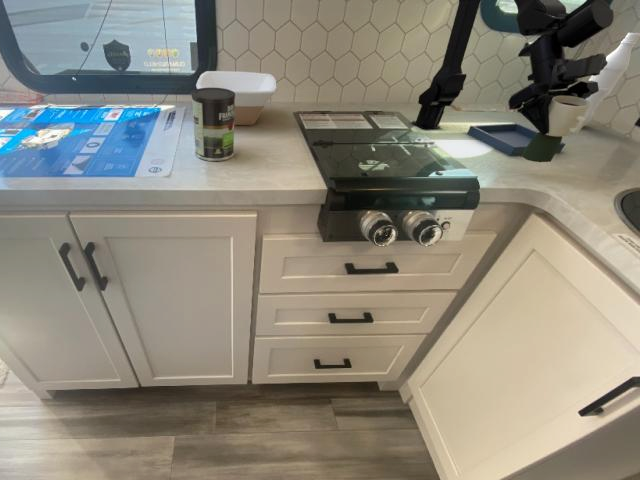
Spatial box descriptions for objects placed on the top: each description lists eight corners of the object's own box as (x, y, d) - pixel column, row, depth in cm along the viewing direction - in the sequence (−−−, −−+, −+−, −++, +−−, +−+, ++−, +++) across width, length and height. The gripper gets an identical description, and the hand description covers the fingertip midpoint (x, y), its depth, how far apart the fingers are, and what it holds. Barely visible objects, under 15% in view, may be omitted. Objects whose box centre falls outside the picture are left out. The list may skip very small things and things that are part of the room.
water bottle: (564, 126, 116) (624, 33, 99) (558, 120, 121) (615, 30, 103) (588, 129, 114) (655, 36, 97) (582, 123, 119) (644, 33, 102)
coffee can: (241, 151, 92) (243, 91, 82) (219, 165, 85) (219, 101, 75) (210, 143, 95) (208, 84, 85) (186, 155, 89) (182, 93, 79)
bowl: (271, 108, 120) (274, 73, 112) (274, 133, 102) (278, 93, 95) (203, 105, 120) (202, 69, 112) (195, 129, 102) (192, 89, 95)
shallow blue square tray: (509, 155, 96) (514, 147, 94) (466, 133, 108) (470, 125, 106) (560, 152, 99) (565, 143, 97) (513, 130, 111) (517, 123, 109)
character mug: (566, 168, 80) (608, 107, 71) (539, 172, 79) (578, 111, 70) (530, 148, 87) (564, 91, 78) (505, 151, 87) (536, 94, 77)
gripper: (557, 36, 67) (568, 115, 67) (624, 35, 71) (635, 111, 72) (502, 73, 78) (512, 141, 78) (563, 71, 82) (572, 136, 82)
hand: (558, 132), depth 77 cm, fingers closed on character mug, 7 cm apart
